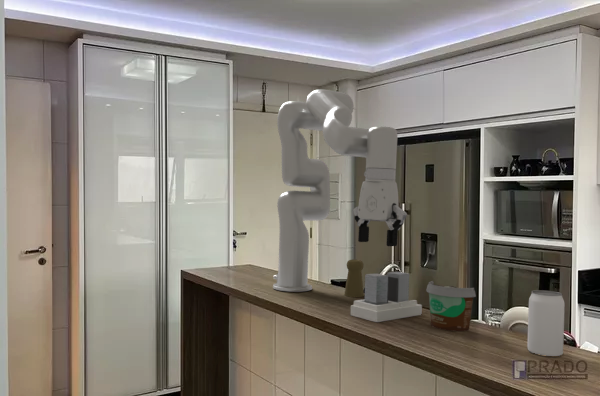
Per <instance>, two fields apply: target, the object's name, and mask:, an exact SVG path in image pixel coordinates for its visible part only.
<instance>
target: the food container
mask: <svg viewBox="0 0 600 396" xmlns="http://www.w3.org/2000/svg"><path fill="white" fill-rule="evenodd" d="M425 291H426V292H427V293H428V296H429V298H428V299H429V301H428V302H429V312H430V326H431V327H433V328H435V329H438V330H442V331H451V332H466V331H467V332H468V331H470V325H471V324H470V323H471V318H472V317H471V315H472V309H473V308H472V307H473V301H474V298H476V297H477V295H476V290H475V287H456V286H453V285H446V286H445V285H437V284H434V280H431V281H429V282H428V284H427V285H426V290H425Z"/></svg>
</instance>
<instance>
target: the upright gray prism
mask: <svg viewBox="0 0 600 396" xmlns="http://www.w3.org/2000/svg"><path fill="white" fill-rule="evenodd" d="M364 276H365V277H364V299H365V301H364V302H365V303H370V304H374V305H382V304H387V303H388V283H389V279H388V275H387V274H382V273H366V274H365V275H364Z"/></svg>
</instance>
